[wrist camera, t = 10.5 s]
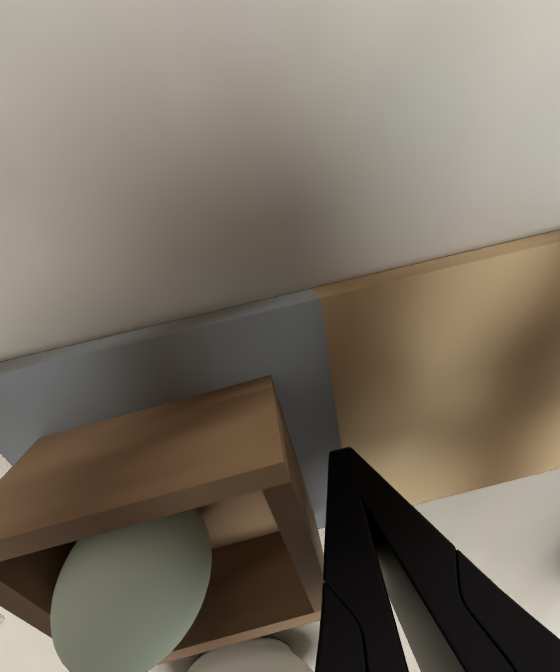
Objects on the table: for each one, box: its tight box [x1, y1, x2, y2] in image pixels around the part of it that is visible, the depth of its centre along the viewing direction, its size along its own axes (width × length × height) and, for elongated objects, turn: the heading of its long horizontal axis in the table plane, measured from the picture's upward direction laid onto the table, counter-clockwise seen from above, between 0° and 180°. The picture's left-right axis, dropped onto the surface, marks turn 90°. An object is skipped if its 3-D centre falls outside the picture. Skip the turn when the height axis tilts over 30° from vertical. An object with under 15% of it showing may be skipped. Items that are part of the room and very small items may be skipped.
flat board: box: [0, 230, 560, 529], centre depth 10 cm, size 24×10×1 cm, turn 102°
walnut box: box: [0, 375, 324, 665], centre depth 8 cm, size 7×7×3 cm
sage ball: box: [50, 508, 212, 672], centre depth 7 cm, size 4×4×4 cm
